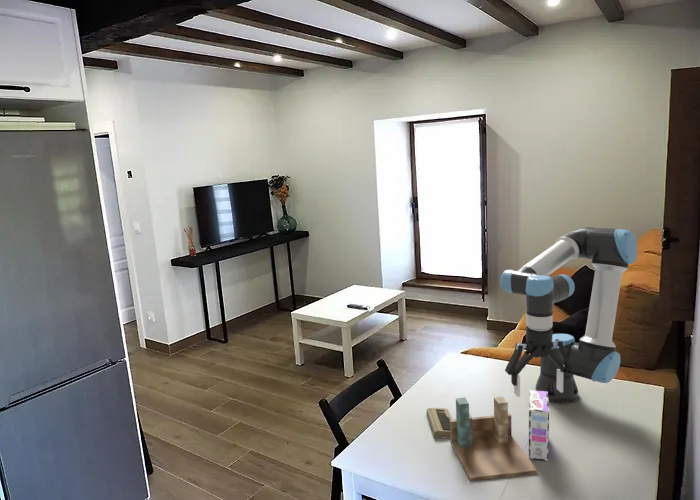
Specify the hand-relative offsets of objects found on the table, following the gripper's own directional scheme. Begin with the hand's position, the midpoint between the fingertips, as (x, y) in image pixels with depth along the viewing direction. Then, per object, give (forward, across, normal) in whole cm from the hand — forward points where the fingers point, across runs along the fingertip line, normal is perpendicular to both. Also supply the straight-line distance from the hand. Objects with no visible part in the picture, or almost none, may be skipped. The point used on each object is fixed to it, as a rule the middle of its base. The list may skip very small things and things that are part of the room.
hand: (538, 392), depth 154 cm
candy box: (+19, 0, 0) cm, 19 cm away
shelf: (+19, +16, +2) cm, 25 cm away
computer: (+20, +26, -19) cm, 38 cm away
